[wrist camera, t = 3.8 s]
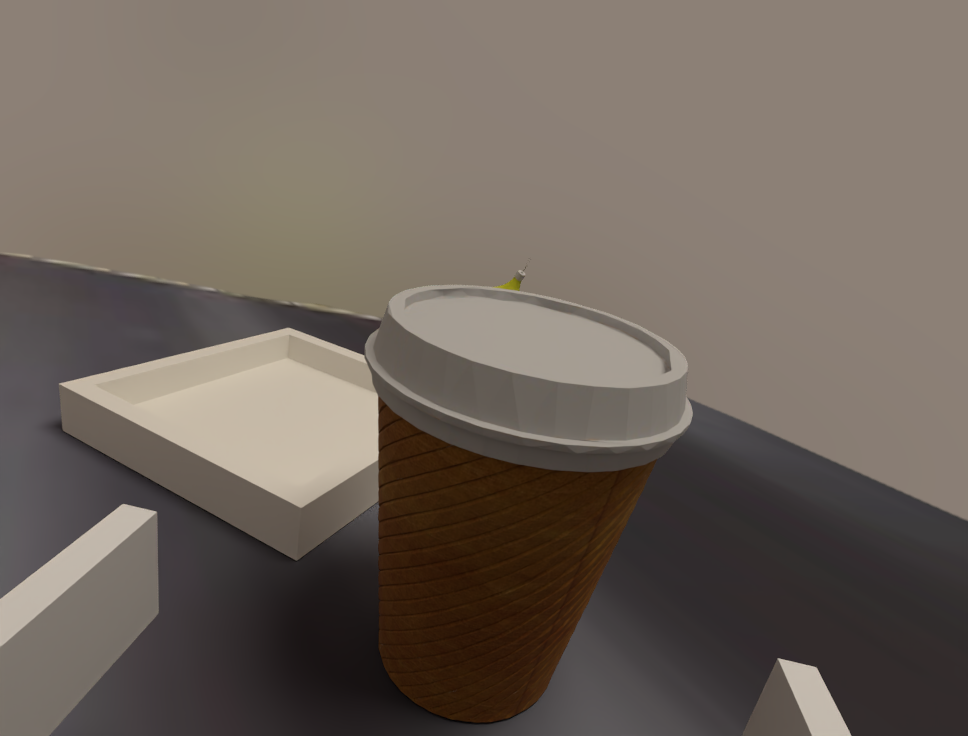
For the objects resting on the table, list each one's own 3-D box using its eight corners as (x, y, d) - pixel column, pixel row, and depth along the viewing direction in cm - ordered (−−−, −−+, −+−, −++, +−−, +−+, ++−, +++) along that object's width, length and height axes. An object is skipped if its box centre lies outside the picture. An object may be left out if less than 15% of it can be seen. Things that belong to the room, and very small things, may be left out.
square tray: (470, 434, 36) (477, 397, 35) (296, 560, 23) (301, 507, 22) (286, 360, 42) (288, 327, 41) (62, 430, 29) (59, 383, 28)
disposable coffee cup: (348, 545, 25) (382, 265, 21) (564, 564, 26) (637, 307, 22) (304, 772, 16) (349, 361, 12) (635, 782, 17) (780, 420, 13)
